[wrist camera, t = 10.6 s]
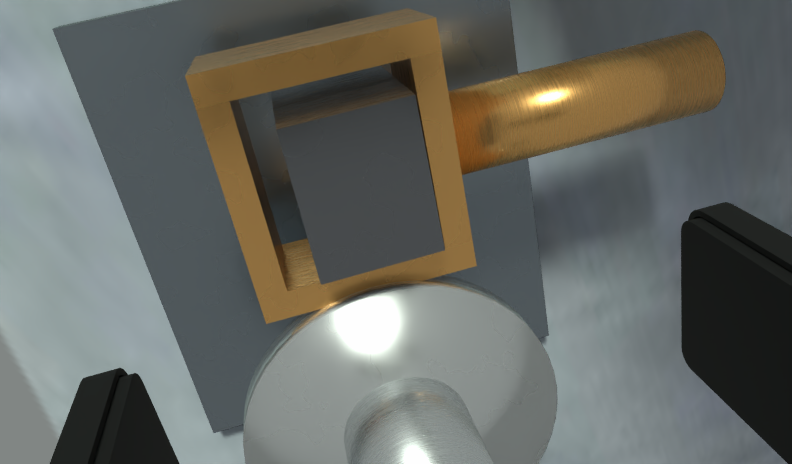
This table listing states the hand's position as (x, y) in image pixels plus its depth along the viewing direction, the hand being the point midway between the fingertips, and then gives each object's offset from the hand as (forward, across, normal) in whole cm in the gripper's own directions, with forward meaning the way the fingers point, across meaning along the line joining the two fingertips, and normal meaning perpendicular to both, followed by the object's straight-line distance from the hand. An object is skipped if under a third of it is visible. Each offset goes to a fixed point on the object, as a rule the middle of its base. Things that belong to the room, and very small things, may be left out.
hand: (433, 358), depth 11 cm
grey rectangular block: (+19, 0, +1) cm, 19 cm away
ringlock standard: (+20, -2, +6) cm, 21 cm away
